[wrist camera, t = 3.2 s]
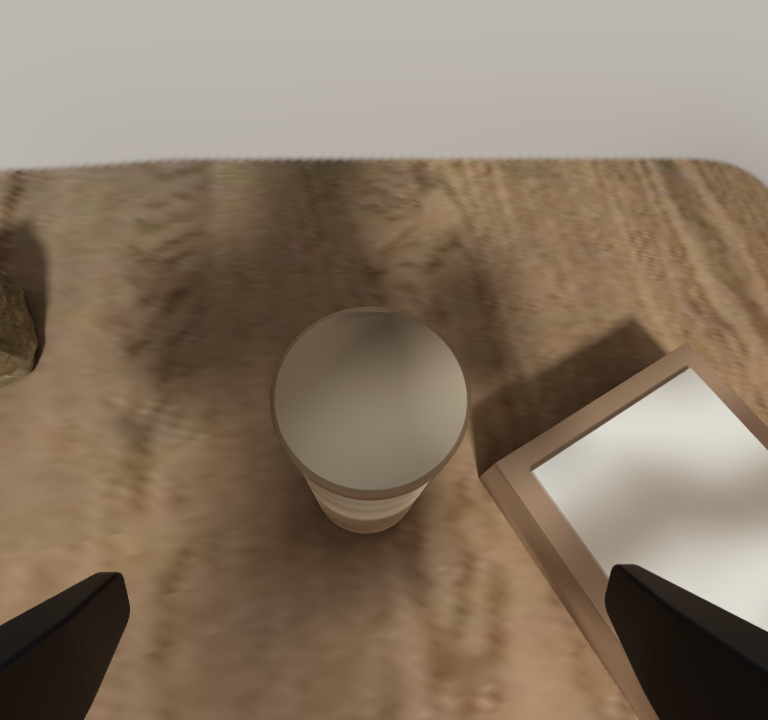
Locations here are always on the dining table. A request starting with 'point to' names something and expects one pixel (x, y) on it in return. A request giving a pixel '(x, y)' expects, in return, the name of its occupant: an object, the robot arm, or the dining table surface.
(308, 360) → the lidded cylindrical jar
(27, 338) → the stone block
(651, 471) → the base
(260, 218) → the dining table surface
